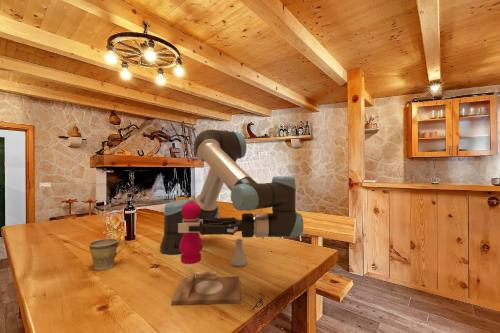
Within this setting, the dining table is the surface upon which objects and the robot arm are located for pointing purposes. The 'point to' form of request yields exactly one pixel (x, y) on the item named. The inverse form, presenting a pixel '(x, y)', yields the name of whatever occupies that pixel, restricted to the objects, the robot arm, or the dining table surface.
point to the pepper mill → (190, 234)
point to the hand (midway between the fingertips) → (180, 225)
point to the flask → (239, 255)
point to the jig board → (207, 289)
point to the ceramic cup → (104, 252)
